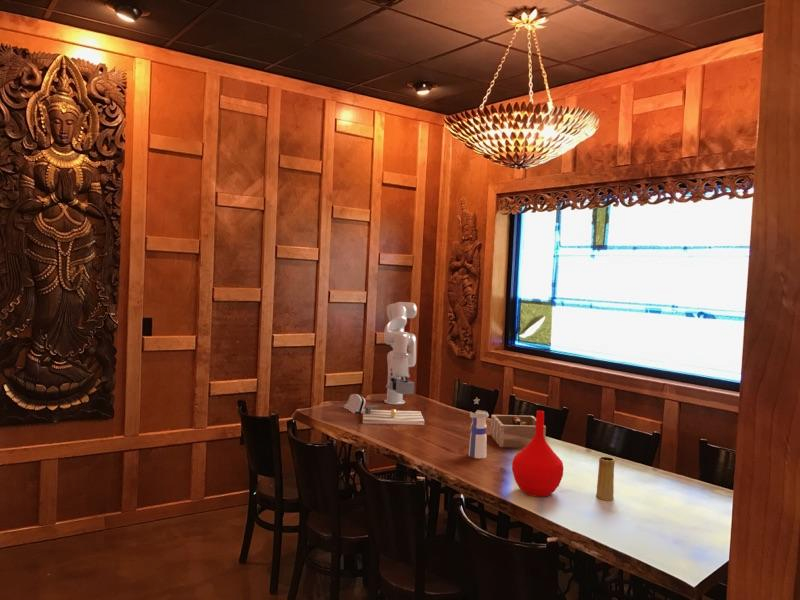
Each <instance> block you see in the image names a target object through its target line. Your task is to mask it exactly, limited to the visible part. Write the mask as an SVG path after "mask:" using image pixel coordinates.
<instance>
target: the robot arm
mask: <svg viewBox="0 0 800 600" xmlns="http://www.w3.org/2000/svg"><path fill="white" fill-rule="evenodd" d="M386 313H387V318H388V323H387V324H385V327H384V331H383V333H384V336H383V338H384V340H383V341H384V343H385V344H386V345H390V347H391V348H392V350H390V351H389V352H388V353H387V355H386V358H387V359H386V361H387V385H389V384H390V380H391V381H392V382H393V385H392V388H393V390H391V389H388V388H386V389H387V390H386V399H383V401H384V403H386V404H388V405H404V404H405V403H406V400H404V398H403V397H404V395H403V394H400V393H397V392H396V391H394V390H396V380H397V378H398V379H401V380H408V379H409V378H410V377H411V375H410V372H409V368H412V367H413V368H414V367H415V365H416V363H417V336H416V335H415V334H414V333H411V332H410V333H409V332H407V331H405V327H406V325H407V323H408V319H414V318H415V317H416V316H417V313H418V307H417V305H416V303H414V302H408V301H406V302H405V301H398V302H394V303H390V304H388V305H387V307H386Z"/></svg>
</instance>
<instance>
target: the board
mask: <svg viewBox="0 0 800 600" xmlns="http://www.w3.org/2000/svg"><path fill="white" fill-rule="evenodd" d="M362 424H379V425H382V424H383V425H406V426H407V425H409V426H410V425H411V426H416V425H418V426H425V419H424V416H423V415H422V412H421V411H418V410H396V417H395V418H392V417H391V410H390V409H389V410H388V409H387V410H385V409H380V410H379V409H371V411H370V414H366V413H365V409H363V413H362Z"/></svg>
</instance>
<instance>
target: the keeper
mask: <svg viewBox="0 0 800 600" xmlns="http://www.w3.org/2000/svg"><path fill="white" fill-rule="evenodd" d="M379 408H380V405H377V404H373V405H372V404H371V405H367V406H364V410H365V413H366V414H370V411H371V410H375V409H379Z"/></svg>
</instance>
